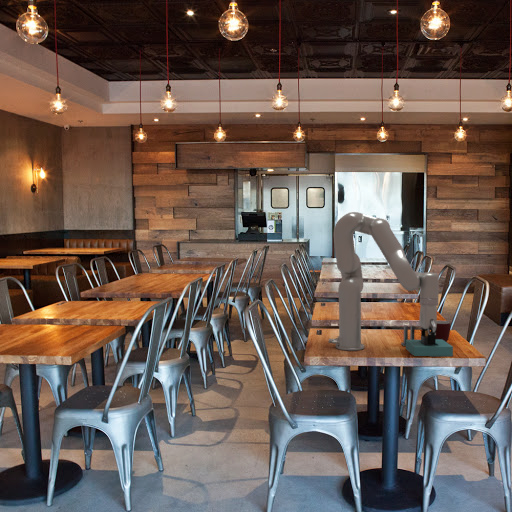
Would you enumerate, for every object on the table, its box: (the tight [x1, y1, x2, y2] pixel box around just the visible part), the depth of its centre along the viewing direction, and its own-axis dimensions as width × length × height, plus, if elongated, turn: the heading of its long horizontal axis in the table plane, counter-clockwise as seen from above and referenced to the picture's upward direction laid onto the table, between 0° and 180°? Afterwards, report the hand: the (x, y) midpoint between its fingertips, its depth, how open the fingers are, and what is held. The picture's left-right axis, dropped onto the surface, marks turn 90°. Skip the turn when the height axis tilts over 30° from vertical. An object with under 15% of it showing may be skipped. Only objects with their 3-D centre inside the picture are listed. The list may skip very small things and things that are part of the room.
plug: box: [420, 330, 433, 346], centre depth 247 cm, size 4×4×9 cm
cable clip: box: [400, 324, 415, 347], centre depth 260 cm, size 6×4×9 cm, turn 90°
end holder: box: [405, 339, 454, 357], centre depth 248 cm, size 16×14×4 cm
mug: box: [436, 320, 452, 343], centre depth 263 cm, size 10×8×10 cm
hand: (428, 341), depth 247 cm, fingers open, 8 cm apart
